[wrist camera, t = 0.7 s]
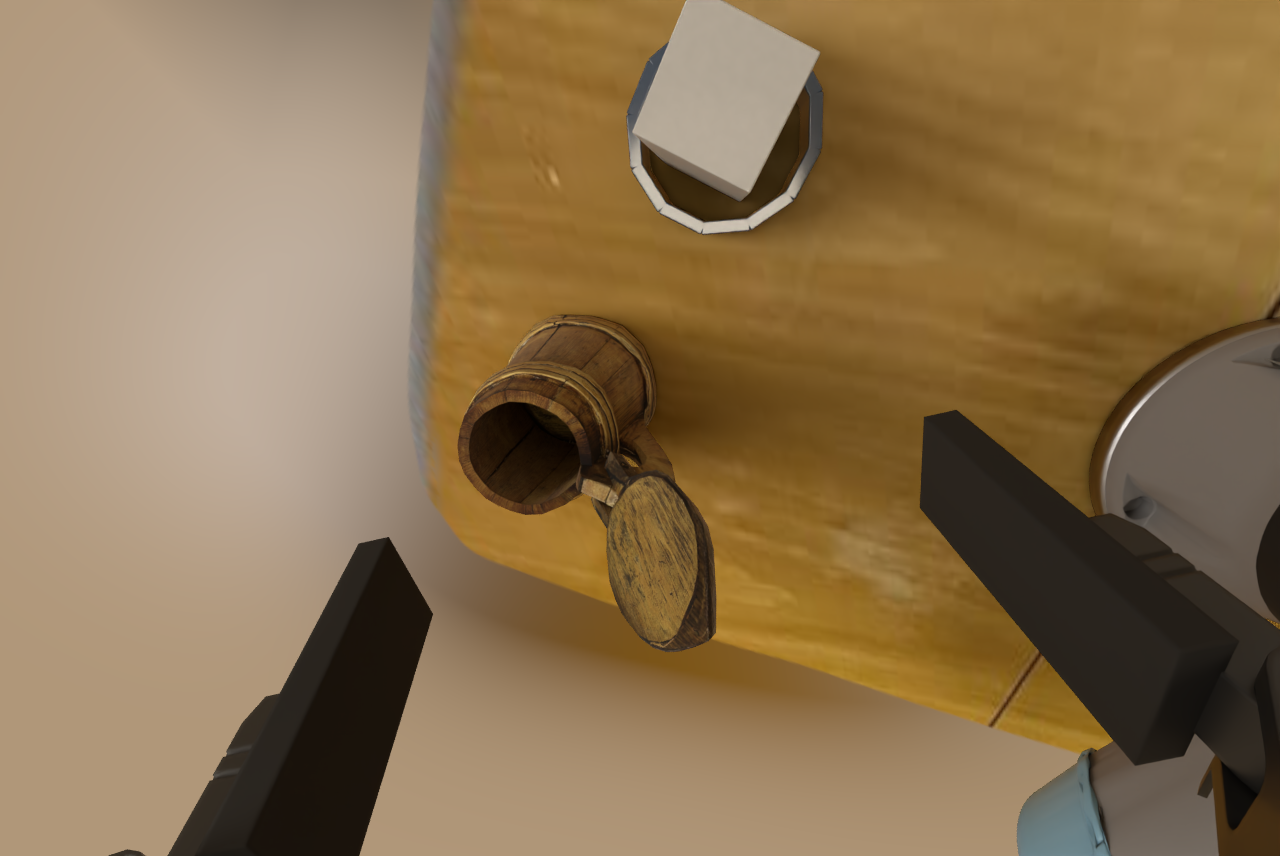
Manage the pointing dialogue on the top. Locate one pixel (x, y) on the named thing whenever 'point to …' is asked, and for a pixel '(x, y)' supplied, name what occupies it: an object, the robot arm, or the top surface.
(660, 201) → the faceted metal ring
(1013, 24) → the top surface
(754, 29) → the grey block
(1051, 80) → the top surface
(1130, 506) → the robot arm
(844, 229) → the top surface
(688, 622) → the wooden mug
